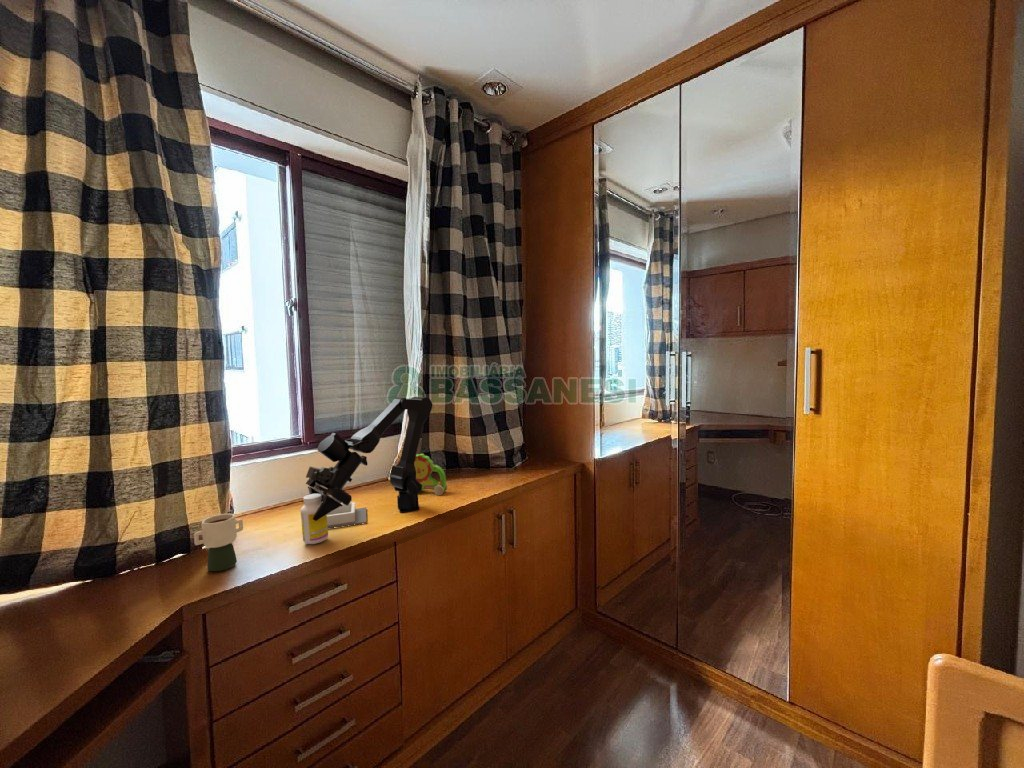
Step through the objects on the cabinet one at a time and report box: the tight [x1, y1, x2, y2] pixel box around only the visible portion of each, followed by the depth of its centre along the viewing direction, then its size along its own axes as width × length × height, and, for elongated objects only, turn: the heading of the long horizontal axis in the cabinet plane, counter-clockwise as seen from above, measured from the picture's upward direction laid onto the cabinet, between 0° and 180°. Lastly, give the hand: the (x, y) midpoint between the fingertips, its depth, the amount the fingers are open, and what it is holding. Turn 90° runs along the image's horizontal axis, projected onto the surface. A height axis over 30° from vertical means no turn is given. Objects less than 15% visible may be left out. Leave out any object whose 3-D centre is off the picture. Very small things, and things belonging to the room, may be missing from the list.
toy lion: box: [414, 453, 448, 496], centre depth 164 cm, size 16×5×15 cm, turn 76°
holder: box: [327, 501, 367, 529], centre depth 139 cm, size 18×14×4 cm
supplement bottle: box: [300, 493, 329, 545], centre depth 122 cm, size 7×7×13 cm
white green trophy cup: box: [193, 513, 244, 572], centre depth 108 cm, size 11×7×13 cm, turn 145°
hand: (309, 517), depth 121 cm, fingers closed on supplement bottle, 7 cm apart
